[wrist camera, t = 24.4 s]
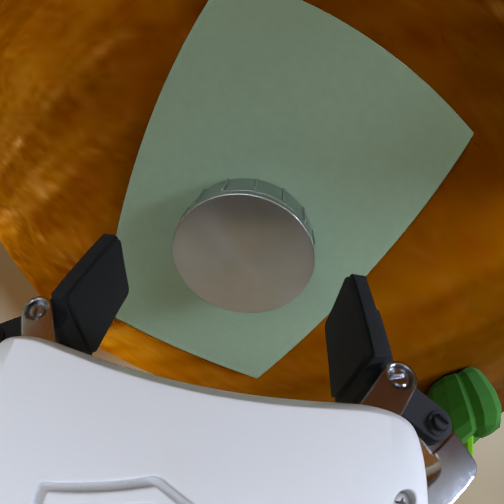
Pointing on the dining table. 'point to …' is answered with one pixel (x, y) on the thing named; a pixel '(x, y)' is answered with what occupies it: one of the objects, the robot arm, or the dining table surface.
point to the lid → (245, 246)
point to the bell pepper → (468, 404)
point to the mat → (279, 164)
